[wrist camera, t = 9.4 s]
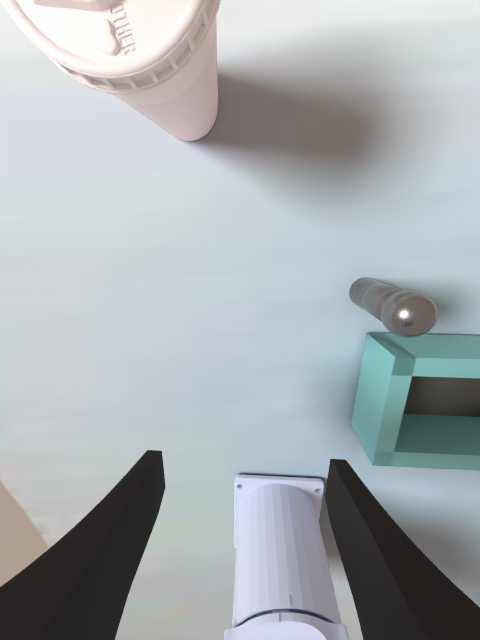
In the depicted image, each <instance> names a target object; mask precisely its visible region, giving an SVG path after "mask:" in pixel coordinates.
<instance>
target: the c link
mask: <svg viewBox="0 0 480 640" xmlns="http://www.w3.org/2000/svg"><path fill="white" fill-rule="evenodd" d="M412 376H424V377H454V378H480V336H476V335H439V334H423V335H421V336H418V337H413V338H405V337H400V336H397V335H395V334H393V333H366V339H365V345H364V351H363V357H362V363H361V368H360V374H359V380H358V386H357V392H356V398H355V404H354V410H353V416H352V421H351V425H352V427H353V429H354V431H355V433H356V435H357V437H358V439H359V441H360V443H361V445H362V447H363V448H364V450H365V452H366V454H367V456H368V458H369V460H370V462H371V464H372V465H378V466H398V467H419V468H440V469H461V470H480V417H468V416H443V415H417V414H403V412H404V408H405V404H406V399H407V395H408V391H409V387H410V383H411V379H412Z"/></svg>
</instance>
